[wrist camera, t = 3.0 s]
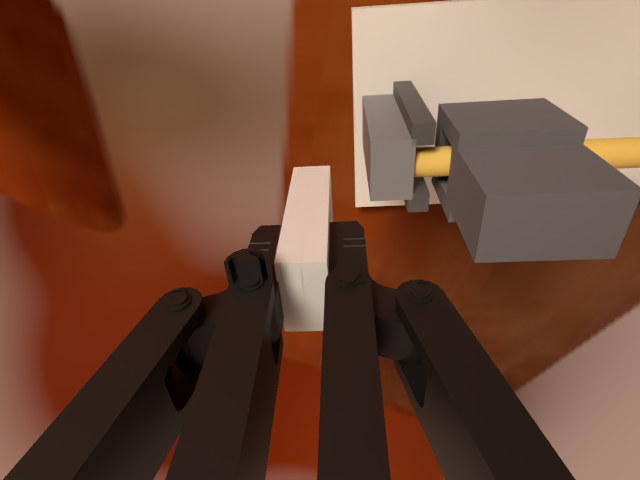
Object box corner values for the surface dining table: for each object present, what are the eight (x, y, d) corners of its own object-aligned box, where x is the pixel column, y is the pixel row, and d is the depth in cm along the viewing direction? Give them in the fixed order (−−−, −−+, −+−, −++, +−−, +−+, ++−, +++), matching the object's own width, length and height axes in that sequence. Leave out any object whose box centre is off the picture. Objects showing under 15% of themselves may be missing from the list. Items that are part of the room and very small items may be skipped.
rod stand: (351, 7, 23) (359, 35, 14) (779, -23, 21) (1060, -11, 13) (355, 200, 29) (362, 294, 21) (681, 186, 28) (825, 282, 20)
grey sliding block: (438, 103, 20) (490, 176, 13) (544, 98, 20) (652, 170, 13) (431, 181, 23) (471, 277, 16) (525, 177, 22) (609, 273, 15)
